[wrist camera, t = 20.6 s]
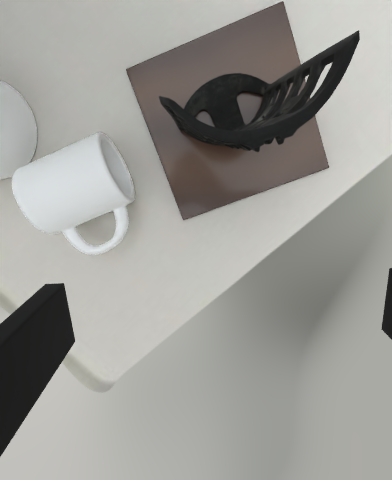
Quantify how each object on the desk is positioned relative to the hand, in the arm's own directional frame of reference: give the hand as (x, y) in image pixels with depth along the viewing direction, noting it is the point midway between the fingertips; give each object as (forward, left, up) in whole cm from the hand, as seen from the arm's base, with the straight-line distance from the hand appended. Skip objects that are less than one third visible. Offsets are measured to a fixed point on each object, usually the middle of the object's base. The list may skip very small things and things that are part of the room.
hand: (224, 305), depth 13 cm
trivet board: (-10, +5, -26) cm, 28 cm away
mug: (-7, -13, -26) cm, 30 cm away
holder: (-10, +5, -26) cm, 28 cm away
